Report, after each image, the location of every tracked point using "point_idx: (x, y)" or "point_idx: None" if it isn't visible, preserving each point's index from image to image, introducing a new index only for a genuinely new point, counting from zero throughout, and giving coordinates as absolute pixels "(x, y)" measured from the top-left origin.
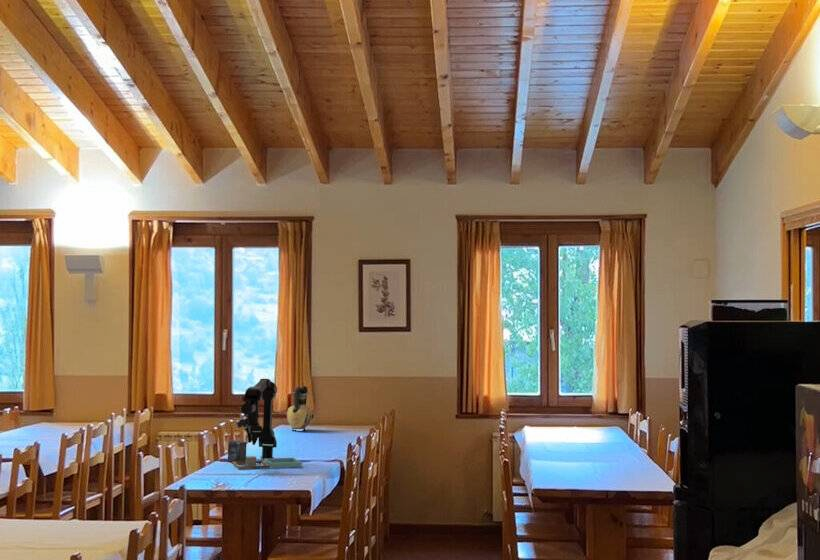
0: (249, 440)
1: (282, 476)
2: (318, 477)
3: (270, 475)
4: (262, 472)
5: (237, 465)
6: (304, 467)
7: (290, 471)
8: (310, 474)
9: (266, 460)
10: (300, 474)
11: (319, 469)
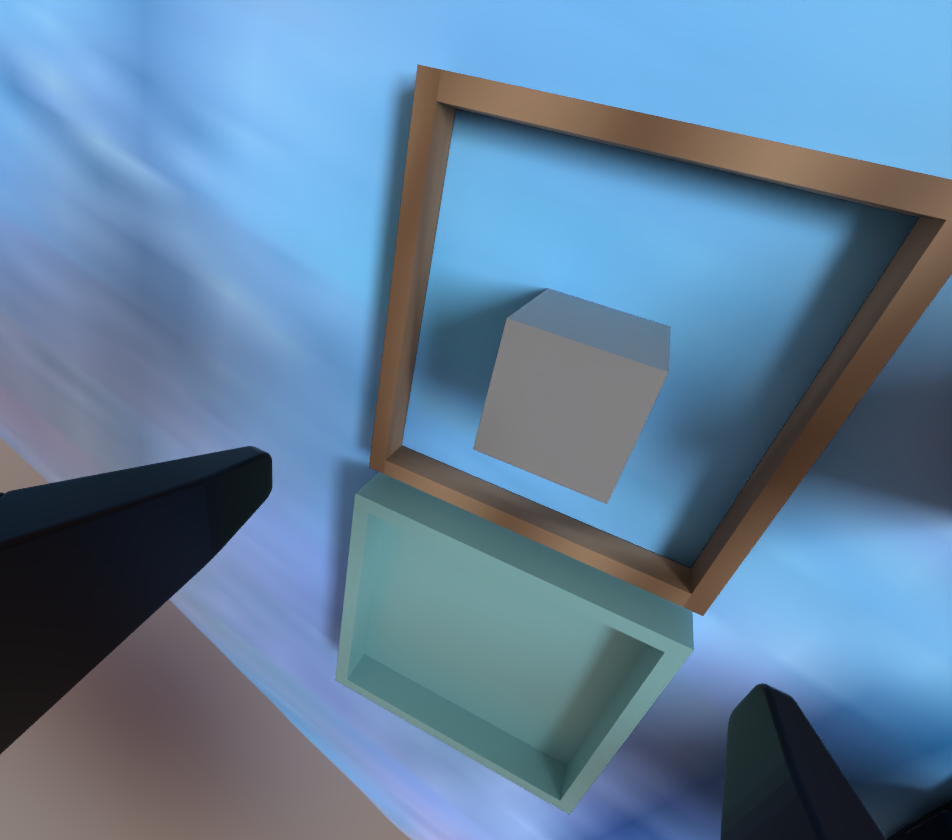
0: (764, 755)
1: (63, 324)
2: None
3: (91, 261)
4: (214, 274)
5: (505, 86)
6: None
7: None
8: None
9: (573, 589)
10: None
11: (268, 657)
